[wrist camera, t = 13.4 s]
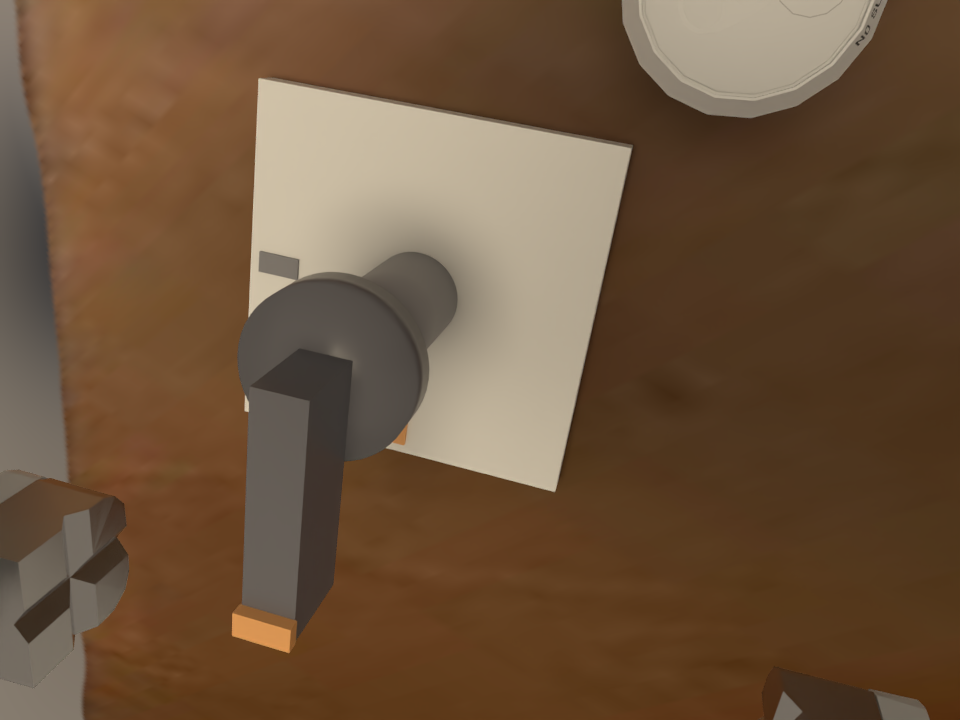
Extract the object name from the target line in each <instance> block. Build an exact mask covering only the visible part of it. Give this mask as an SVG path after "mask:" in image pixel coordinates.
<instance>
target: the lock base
mask: <svg viewBox="0 0 960 720" xmlns="http://www.w3.org/2000/svg"><path fill="white" fill-rule="evenodd" d="M632 149H633V145H630V144H625V143H620V142H614V141H609V140H604V139H598V138H593V137H588V136H582V135H577V134H571V133H566V132H561V131H555V130H550V129H545V128H539V127H534V126H529V125H523V124H518V123H513V122H507V121H502V120H497V119H491V118H486V117H481V116H475V115H470V114H465V113H459V112H454V111H448V110H443V109H438V108H432V107H427V106H422V105H416V104H411V103H406V102H400V101H395V100H390V99H384V98H379V97H374V96H368V95H363V94H358V93H352V92H347V91H342V90H336V89H331V88H326V87H320V86H315V85H309V84H304V83H299V82H293V81H288V80H283V79H277V78H259V83H258V107H257V130H256V154H255V178H254V201H253V225H252V249H251V272H250V296H249V316H250V315H251V313H252V312H253V311H254V310H255V308H256V307H257V306H258V305H259V304H260V303H261V302H263V301H264V300H265V299H266V298H268V297H269V296H271V295H272V294H274V293H276V292H277V291H279V290H281V289H282V288H284V287H286V286H288V285H289V284H291V283H293V282H294V281H296V280H298V279H301V278H303V277H305V276H308V275H312V274H315V273H322V272H342V273H348V274H353V275H356V276H360V277H363V278H365V279H367V280H370V281H372V282H374V283H376V284H377V285H379V286H381V287H383V288H384V289H385V290H387V291H388V292H389V293H391V294H392V295H393V296H394V297H396V298H397V299H398V300H399V301H400V302H401V303H402V304H403V305H404V307H405V308H406V309H407V310H408V311H409V313H410V314H411V315H412V317H413V319H414V320H415V322H416V323H417V325H418V327H419V329H420V331H421V333H422V335H423V338H424V341H425V344H426V348H427V352H428V357H429V381H428V386H427V391H426V394H425V396H424V399H423V401H422V403H421V405H420V407H419V409H418V410H417V412H416V413H415V414H414V416H413V417H412V418H411V420H410V421H409V422H408V424H407V425H406V426H405V428H404V429H403V430H402V432H401V433H400V434H399V436H398V437H397V438H396V439H395V440H394V441H393V442H392V443H391V444H390V445H389V446H387V447H386V448H388V449H392V450H396V451H400V452H404V453H407V454H411V455H415V456H419V457H423V458H427V459H430V460H434V461H438V462H442V463H446V464H450V465H453V466H457V467H461V468H465V469H469V470H473V471H476V472H480V473H484V474H488V475H492V476H496V477H499V478H503V479H507V480H511V481H515V482H519V483H522V484H526V485H530V486H534V487H538V488H542V489H545V490H549V491H553V492H555V490H556V487H557V484H558V480H559V476H560V471H561V467H562V463H563V458H564V454H565V449H566V445H567V440H568V436H569V431H570V427H571V422H572V418H573V413H574V409H575V404H576V400H577V395H578V391H579V386H580V382H581V377H582V373H583V368H584V364H585V359H586V355H587V350H588V346H589V341H590V337H591V332H592V328H593V324H594V319H595V315H596V310H597V306H598V301H599V297H600V292H601V288H602V283H603V279H604V274H605V270H606V265H607V261H608V256H609V252H610V247H611V243H612V238H613V234H614V229H615V225H616V220H617V216H618V211H619V207H620V202H621V198H622V193H623V189H624V185H625V180H626V176H627V171H628V167H629V162H630V158H631V153H632ZM245 411H246V412H249V402H248V400H247V397H246V395H245Z"/></svg>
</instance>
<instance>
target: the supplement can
mask: <svg viewBox="0 0 960 720" xmlns="http://www.w3.org/2000/svg"><path fill="white" fill-rule="evenodd" d="M886 3H887V0H622V14H623V25H624V27H625V30H626V32H627V35H628V37H629V40H630V42H631V45H632V47H633V50H634V52H635V55H636V57H637V60H638V62H639V65H640V66H641V67H642V68H643V69H644V70H645V71H646V72H647V73H648V74H649V75H650V76H651V78H652V79H653V80H654V81H655V82H656V83H657V84H658V85H659V86H660V87H661V88H662V89H663V91H664V92H665V93H666V94H667V95H668V96H670V97H672V98H674V99H676V100H678V101H680V102H682V103H684V104H686V105H688V106H690V107H692V108H695V109H697V110H699V111H701V112H703V113H705V114H707V115H719V116H731V117H743V118H753V117H757V116H761V115H765V114H769V113H772V112H776V111H780V110H784V109H788V108H791V107H795V106H797V105H799V104H801V103H802V102H804V101H805V100H807V99H808V98H810V97H811V96H813V95H814V94H816V93H818V92H819V91H821V90H822V89H824V88H825V87H827V86H828V85H830V84H831V83H833V82H835V81H836V80H838V79H839V78H840V76H841V75H842V74H843V73H844V72H845V70H846V69H847V68H848V67H849V66H850V64H851V63H852V62H853V61H854V60H855V58H856V57H857V56H858V55H859V54H860V52H861V51H862V50H863V49H864V48H865V46H866V45H867V44H868V43H869V42H870V40H871V39H872V37H873V34H874V32H875V30H876V27H877V25H878V22H879V20H880V17H881V15H882V12H883V10H884V8H885V5H886Z"/></svg>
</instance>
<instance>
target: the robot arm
mask: <svg viewBox="0 0 960 720" xmlns="http://www.w3.org/2000/svg"><path fill="white" fill-rule="evenodd" d="M125 527H126V517H125V507H124V503H122V502H121V501H120V500H119V499H117V498H116V497H115V496H112V495H108V494H105V493H101V492H98V491H94V490H91V489H87V488H83V487H80V486H76V485H73V484H69V483H66V482H62V481H58V480H55V479H52V478H46V477H43V476H39V475H36V474H32V473H28V472H25V471H21V470H8V471H3V472H1V473H0V679H3V680H6V681H10V682H13V683H17V684H20V685H24V686H28V687H31V688H34V687H36V686H37V685H38V684H39V683H40V682H41V681H42V680H43V679H44V678H45V677H46V676H47V675H48V674H49V673H50V672H51V671H52V670H53V669H54V668H55V667H56V666H57V665H58V664H59V663H60V662H61V661H63V660H64V659H65V658H66V657H67V656H68V655H69V654H70V653H71V652H72V651H73V648H74V638H75V635H76V634H78V633H81V632H84V631H86V630H89V629H91V628H94V627H97V626H99V625H100V624H101V623H102V622H103V621H104V620H105V619H106V618H107V617H108V616H109V615H110V614H111V613H112V611H113V610H114V609H115V607H116V605H117V603H118V601H119V600H120V598H121V596H122V594H123V592H124V590H125V588H126V583H127V578H128V573H129V561H128V554H127V552H126V551H125V549H124V548H123V546H122V545H121V543H120V541H119V540H118V538H117V537H118V535H119V534H120V533H121V532H122V531H123V529H124V528H125ZM762 702H763V711H764V716H763V717H762V718H760V719H758V720H930V719H929V716H928V713H927V711H926V708H925V707H924V706H923V705H922V704H921V703H920V702H919V701H918V700H915V699H911V698H907V697H902V696H898V695H894V694H889V693H885V692H881V691H876V690H872V689H868V690H865V689H862V688H858V687H854V686H850V685H846V684H842V683H838V682H834V681H830V680H827V679H823V678H819V677H815V676H811V675H807V674H803V673H799V672H795V671H791V670H787V669H783V668H779V667H775V666H774V667H773V668H772V670H771V671H770V673H769V675H768V677H767V679H766V682H765V685H764V688H763V691H762Z"/></svg>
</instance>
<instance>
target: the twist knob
mask: <svg viewBox="0 0 960 720" xmlns="http://www.w3.org/2000/svg"><path fill="white" fill-rule="evenodd" d="M238 370H239V376H240V380H241V384H242V387H243V390H244V393H245V395H246V397H247V400H248V402H249V416H248V446H247V475H246V505H245V534H244V563H243V593H242V605H241V604H240V605H239V606H238V607H237V608H236V610H235V611H234V612H233V616H232V636H234V637H238V638H241V639H244V640H248V641H251V642H254V643H258V644H261V645H264V646H267V647H271V648H274V649H277V650H281V651H284V652H287V653H290V651H291V650H292V648H293V647H294V645H295V644H296V640H297V638H298V637H299V635H300V634H301V632H302V631H303V629H304V628H305V626H306V625H307V623H308V622H309V620H310V619H311V617H312V616H313V614H314V613H315V611H316V610H317V608H318V607H319V605H320V604H321V602H322V601H323V599H324V598H325V596H326V594H327V593H328V591H329V590H330V588H331V587H332V585H333V581H334V570H335V559H336V547H337V536H338V525H339V513H340V502H341V491H342V479H343V468H344V461H353V460H359V459H363V458H366V457H369V456H372V455H374V454H376V453H378V452H380V451H382V450H383V449H384V448H386V447H387V446H389V445H390V444H391V443H392V442H393V441H394V440H395V439H396V438H397V437H398V436H399V434H400V433H401V432H402V430H403V429H404V428H405V426H406V425H407V424H408V422H409V421H410V420H411V418H412V417H413V416H414V414H415V413H416V412H417V410H418V409H419V407H420V405H421V403H422V401H423V399H424V396H425V394H426V391H427V386H428V381H429V357H428V352H427V348H426V344H425V341H424V338H423V335H422V333H421V331H420V329H419V327H418V325H417V323H416V322H415V320H414V319H413V317H412V315H411V314H410V313H409V311H408V310H407V309H406V308H405V307H404V305H403V304H402V303H401V302H400V301H399V300H398V299H397V298H396V297H394V296H393V295H392V294H391V293H389V292H388V291H387V290H385V289H384V288H383V287H381V286H379V285H377V284H376V283H374V282H372V281H370V280H367V279H365V278H363V277H360V276H356V275H353V274H348V273H342V272H322V273H315V274H312V275H308V276H305V277H303V278H301V279H298V280H296V281H294V282H293V283H291V284H289V285H288V286H286V287H284V288H282V289H281V290H279V291H277V292H276V293H274V294H272V295H271V296H269V297H268V298H266V299H265V300H264V301H263V302H261V303H260V304H259V305H258V306H257V307H256V308H255V310H254V311H253V312H252V313H251V315H250V316H249V318H248V320H247V321H246V323H245V325H244V328H243V330H242V333H241V336H240V341H239V346H238Z"/></svg>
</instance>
